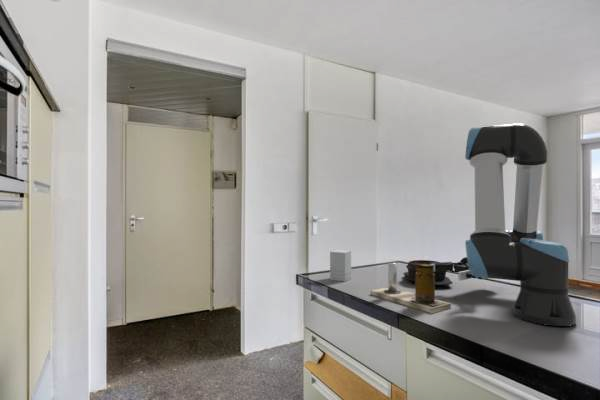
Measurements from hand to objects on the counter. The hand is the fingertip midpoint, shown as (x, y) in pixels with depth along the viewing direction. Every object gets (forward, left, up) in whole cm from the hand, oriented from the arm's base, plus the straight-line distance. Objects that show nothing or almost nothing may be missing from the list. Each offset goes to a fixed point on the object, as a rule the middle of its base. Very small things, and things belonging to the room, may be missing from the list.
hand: (440, 272), depth 118 cm
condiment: (-1, +9, -9) cm, 12 cm away
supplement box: (+45, +6, -10) cm, 47 cm away
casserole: (+21, -22, -10) cm, 32 cm away
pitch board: (+7, +8, -10) cm, 15 cm away
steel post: (+14, +8, -10) cm, 19 cm away
